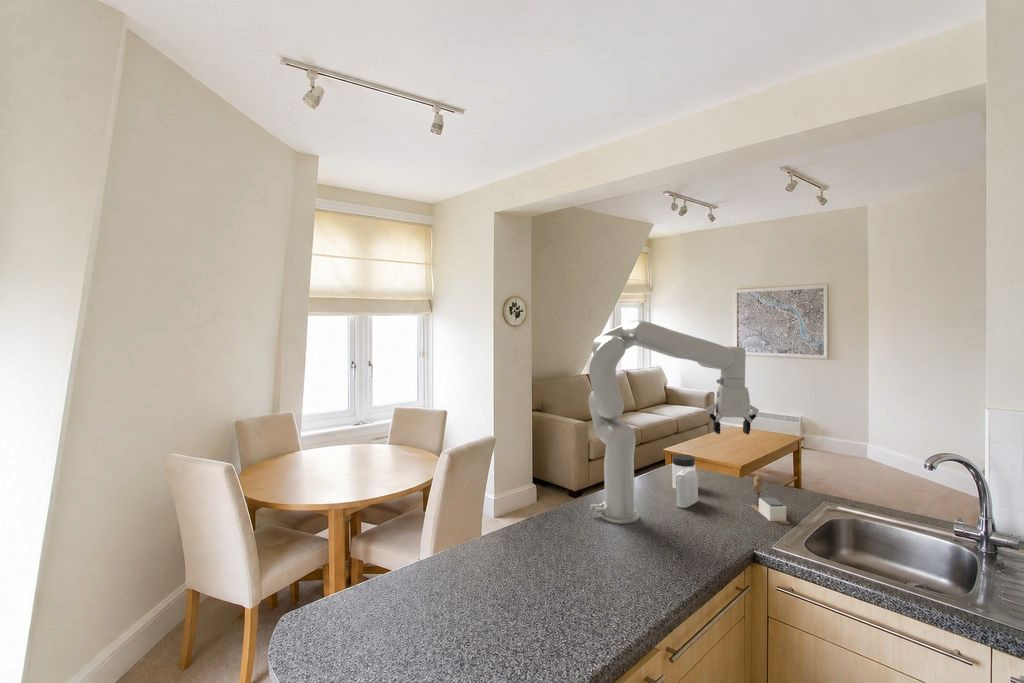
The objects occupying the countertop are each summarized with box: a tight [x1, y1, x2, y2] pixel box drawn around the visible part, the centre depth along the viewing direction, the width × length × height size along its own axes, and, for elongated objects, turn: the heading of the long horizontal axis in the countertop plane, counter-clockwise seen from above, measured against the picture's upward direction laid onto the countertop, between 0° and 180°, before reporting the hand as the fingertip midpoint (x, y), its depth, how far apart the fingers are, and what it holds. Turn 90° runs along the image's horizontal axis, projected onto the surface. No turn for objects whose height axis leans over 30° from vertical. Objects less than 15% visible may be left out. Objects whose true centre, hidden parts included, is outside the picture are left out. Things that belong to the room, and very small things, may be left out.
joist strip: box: [749, 504, 792, 525], centre depth 159 cm, size 5×16×1 cm, turn 0°
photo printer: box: [675, 468, 699, 509], centre depth 170 cm, size 10×4×12 cm, turn 134°
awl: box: [753, 475, 764, 506], centre depth 166 cm, size 3×3×10 cm
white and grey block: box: [758, 496, 787, 522], centre depth 157 cm, size 5×8×5 cm, turn 176°
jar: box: [671, 453, 696, 490], centre depth 187 cm, size 9×8×12 cm
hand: (731, 433), depth 164 cm, fingers open, 9 cm apart
